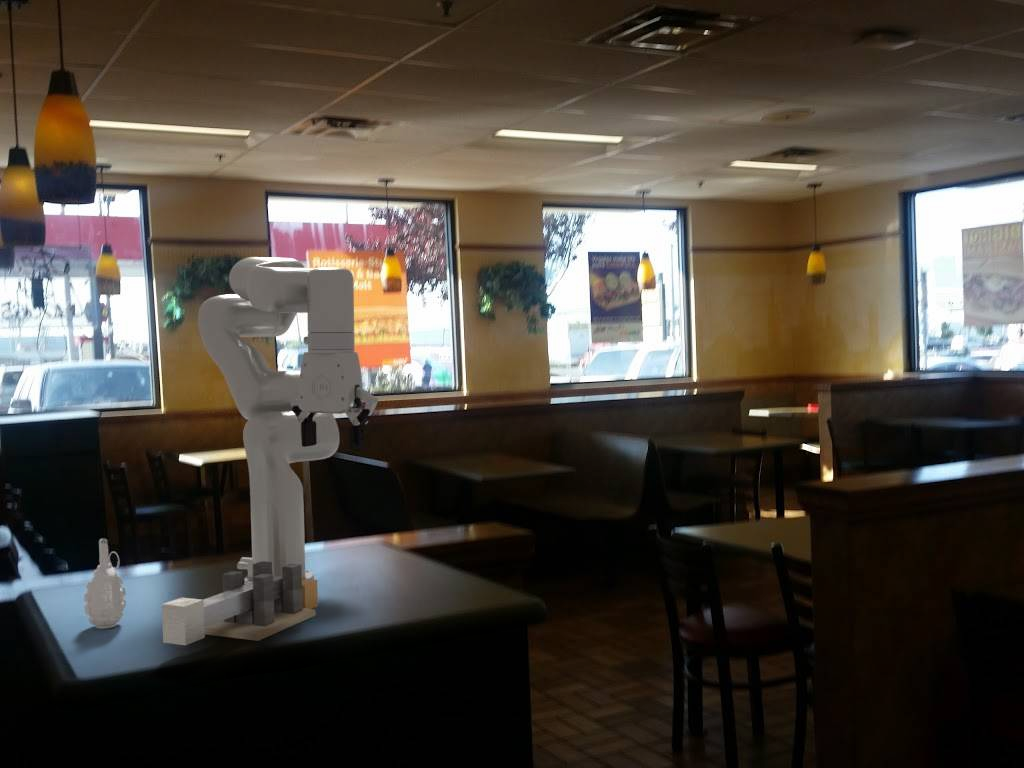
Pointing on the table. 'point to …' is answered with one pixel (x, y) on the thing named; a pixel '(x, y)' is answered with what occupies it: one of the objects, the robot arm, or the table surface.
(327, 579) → the table surface
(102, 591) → the hand grenade
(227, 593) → the block ended bar
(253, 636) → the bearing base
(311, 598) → the block
